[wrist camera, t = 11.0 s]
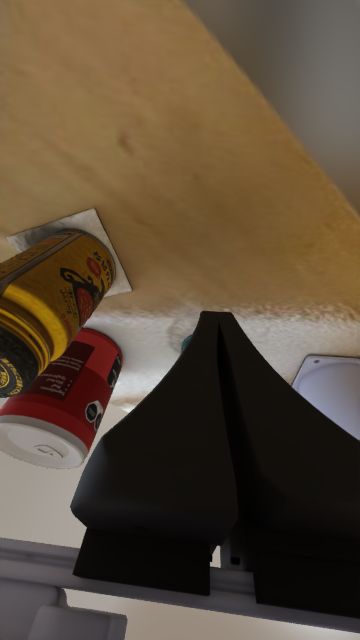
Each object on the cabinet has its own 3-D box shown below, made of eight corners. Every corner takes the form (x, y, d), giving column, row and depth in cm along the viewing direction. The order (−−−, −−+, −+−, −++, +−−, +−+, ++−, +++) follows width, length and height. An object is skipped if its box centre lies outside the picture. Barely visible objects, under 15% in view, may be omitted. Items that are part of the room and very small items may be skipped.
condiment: (133, 290, 21) (71, 405, 11) (58, 306, 23) (-48, 416, 13) (95, 207, 17) (-53, 276, 7) (9, 236, 19) (-198, 321, 9)
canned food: (103, 381, 30) (60, 476, 21) (48, 348, 27) (-29, 442, 18) (138, 355, 26) (103, 457, 17) (78, 314, 23) (0, 411, 14)
